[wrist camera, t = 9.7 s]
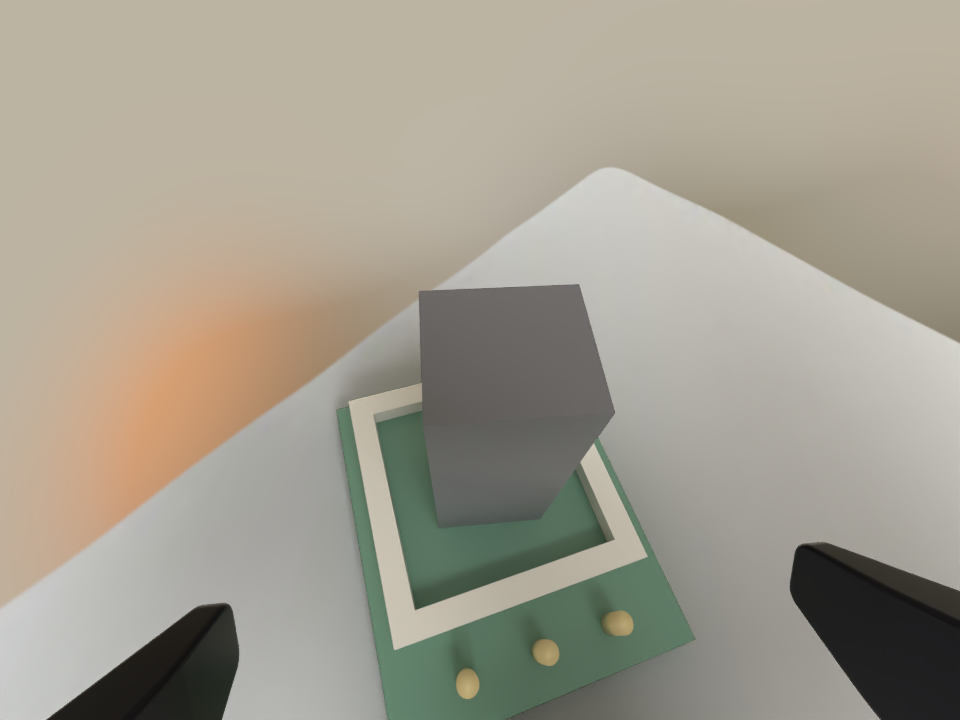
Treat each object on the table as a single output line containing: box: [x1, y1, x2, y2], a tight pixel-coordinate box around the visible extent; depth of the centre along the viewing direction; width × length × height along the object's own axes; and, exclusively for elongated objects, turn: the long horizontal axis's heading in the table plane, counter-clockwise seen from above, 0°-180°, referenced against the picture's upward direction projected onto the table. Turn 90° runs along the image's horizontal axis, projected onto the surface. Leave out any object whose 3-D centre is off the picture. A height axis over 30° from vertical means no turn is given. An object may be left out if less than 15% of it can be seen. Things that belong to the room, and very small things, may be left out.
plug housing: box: [419, 284, 615, 528], centre depth 16 cm, size 4×4×11 cm
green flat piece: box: [337, 383, 695, 720], centre depth 20 cm, size 14×12×2 cm
